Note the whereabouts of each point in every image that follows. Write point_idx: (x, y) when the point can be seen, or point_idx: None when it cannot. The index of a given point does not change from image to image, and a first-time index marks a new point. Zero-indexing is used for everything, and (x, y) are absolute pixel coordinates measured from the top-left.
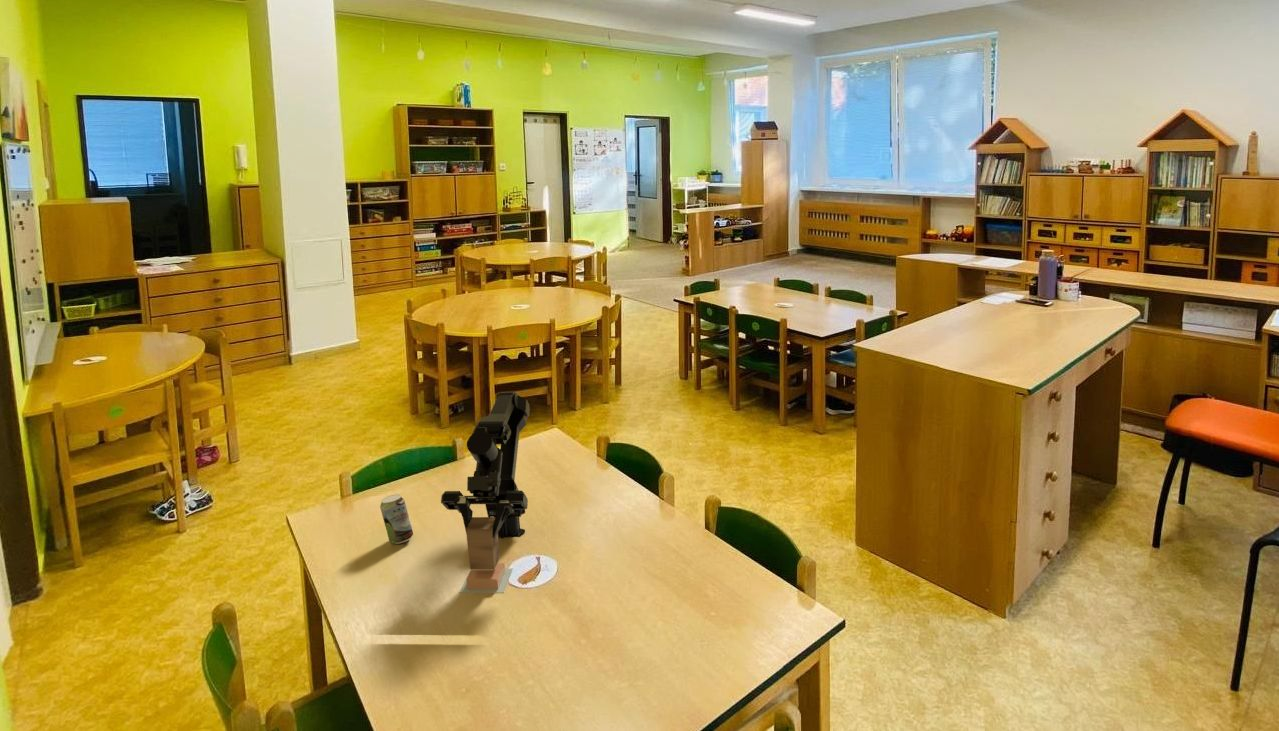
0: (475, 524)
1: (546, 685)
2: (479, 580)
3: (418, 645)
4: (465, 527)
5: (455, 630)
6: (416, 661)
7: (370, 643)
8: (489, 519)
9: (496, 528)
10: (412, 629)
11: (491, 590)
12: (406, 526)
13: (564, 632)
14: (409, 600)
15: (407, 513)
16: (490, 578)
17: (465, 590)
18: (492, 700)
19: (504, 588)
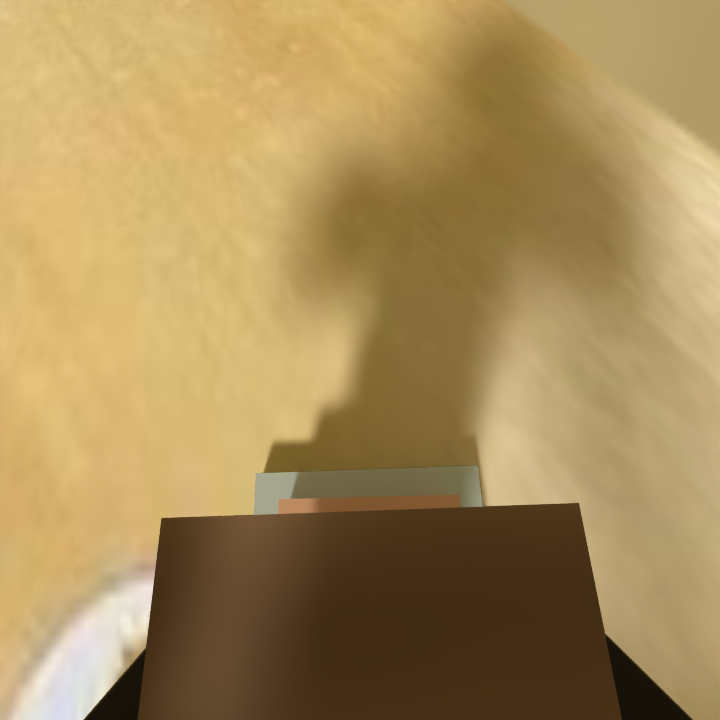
0: (477, 700)
1: (77, 68)
2: (382, 496)
3: (500, 184)
4: (647, 685)
5: (404, 258)
6: (470, 124)
7: (669, 186)
8: None
9: (118, 683)
10: (566, 257)
11: (320, 490)
12: None
13: (6, 264)
14: (696, 438)
15: None
16: (320, 509)
17: (453, 487)
18: (213, 24)
19: (258, 511)
